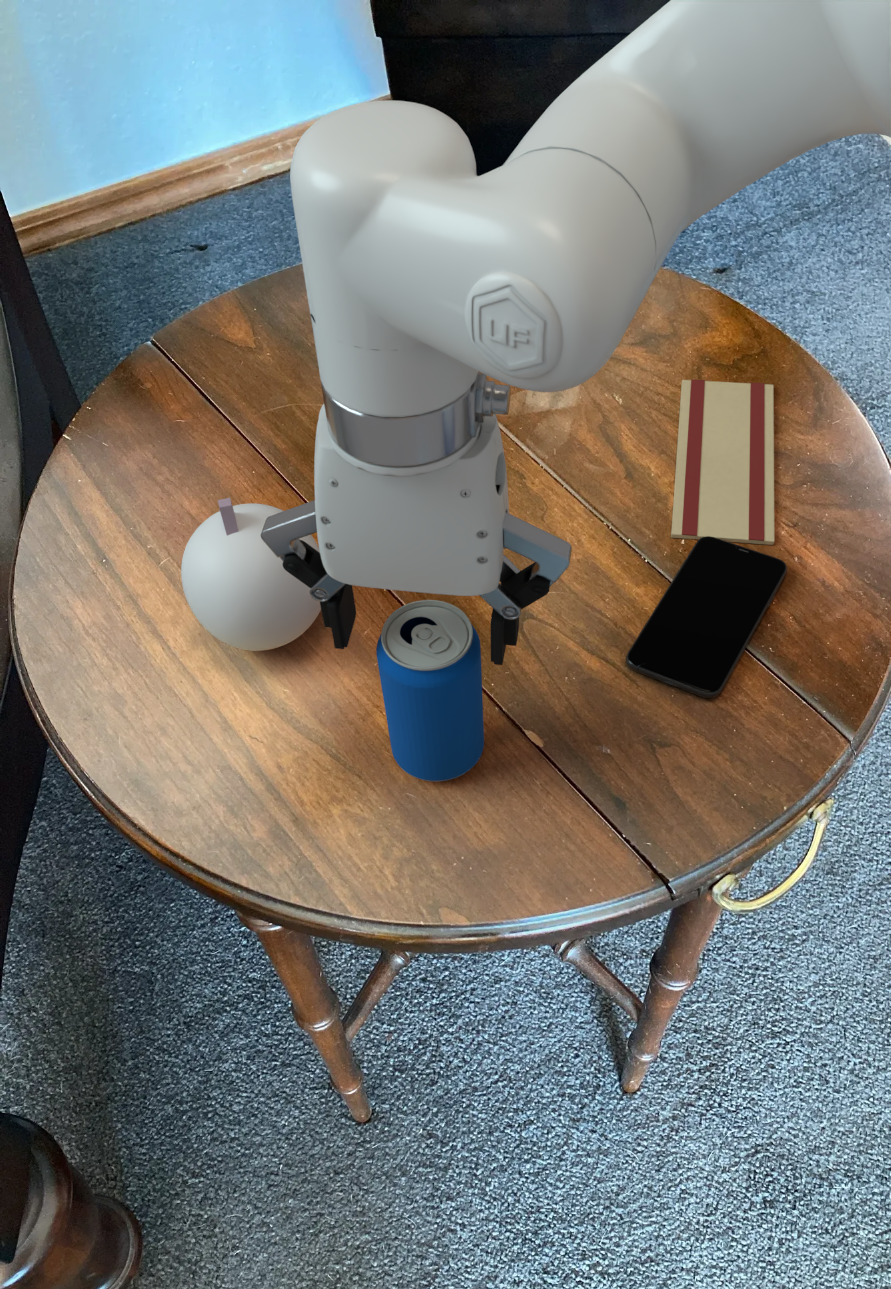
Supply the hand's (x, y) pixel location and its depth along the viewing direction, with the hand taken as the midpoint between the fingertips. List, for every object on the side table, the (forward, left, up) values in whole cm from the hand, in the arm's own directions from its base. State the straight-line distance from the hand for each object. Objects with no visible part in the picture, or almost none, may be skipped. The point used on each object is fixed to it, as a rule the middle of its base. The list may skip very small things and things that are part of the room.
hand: (422, 639), depth 66 cm
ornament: (+15, -10, -12) cm, 21 cm away
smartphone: (-18, -14, -11) cm, 26 cm away
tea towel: (-19, -33, -11) cm, 40 cm away
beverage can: (0, 0, -12) cm, 12 cm away
